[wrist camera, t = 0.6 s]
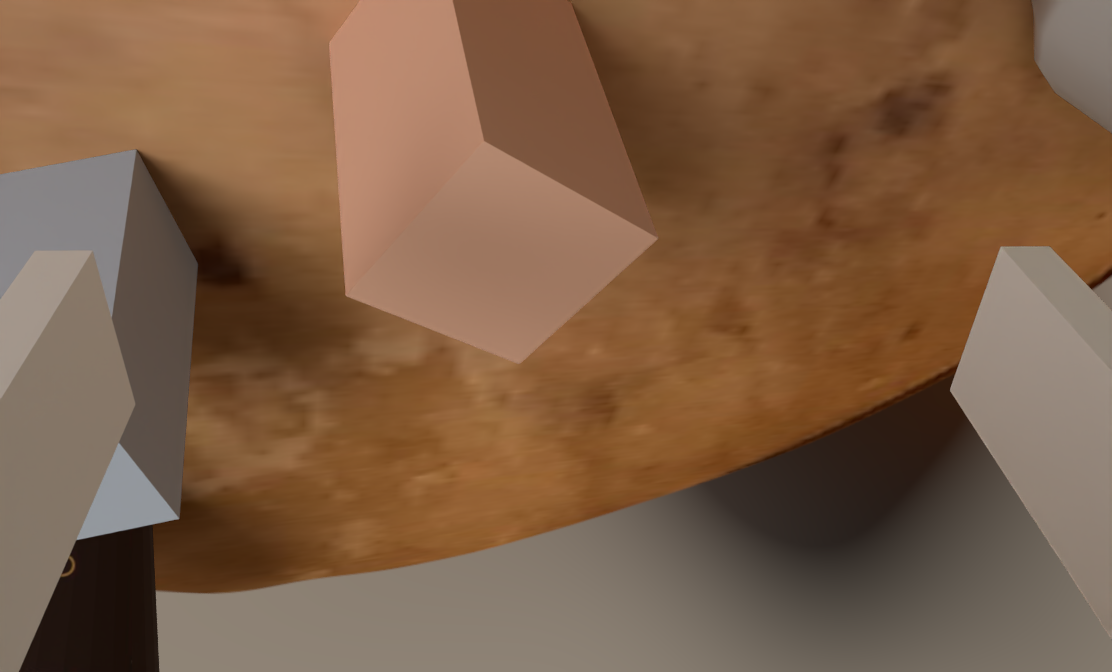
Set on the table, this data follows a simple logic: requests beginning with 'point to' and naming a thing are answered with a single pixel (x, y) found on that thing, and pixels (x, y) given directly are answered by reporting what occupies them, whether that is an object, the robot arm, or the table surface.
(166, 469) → the slate block
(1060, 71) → the salt shaker
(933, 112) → the table surface
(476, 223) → the terracotta block
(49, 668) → the coffee mug
